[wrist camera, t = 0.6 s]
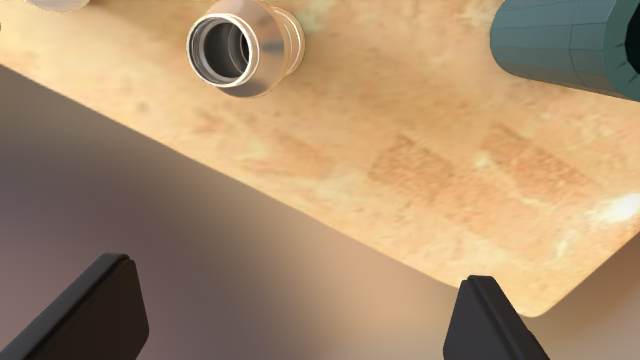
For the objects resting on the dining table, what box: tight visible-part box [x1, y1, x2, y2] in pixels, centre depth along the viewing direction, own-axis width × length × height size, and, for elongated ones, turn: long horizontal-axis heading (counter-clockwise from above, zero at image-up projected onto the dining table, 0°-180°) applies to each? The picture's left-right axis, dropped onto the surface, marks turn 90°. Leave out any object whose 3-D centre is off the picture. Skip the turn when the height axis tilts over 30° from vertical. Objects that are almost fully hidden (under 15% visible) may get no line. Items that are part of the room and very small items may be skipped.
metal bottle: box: [186, 0, 305, 99], centre depth 27 cm, size 6×7×20 cm
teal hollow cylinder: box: [490, 0, 640, 102], centre depth 27 cm, size 9×9×16 cm
